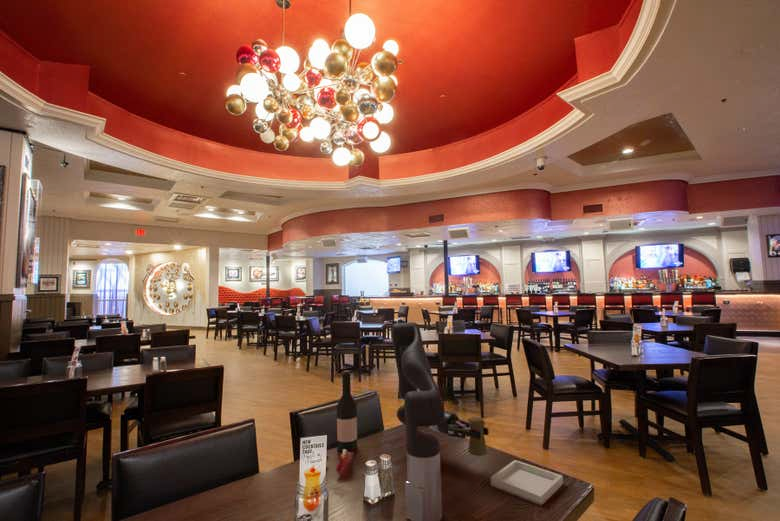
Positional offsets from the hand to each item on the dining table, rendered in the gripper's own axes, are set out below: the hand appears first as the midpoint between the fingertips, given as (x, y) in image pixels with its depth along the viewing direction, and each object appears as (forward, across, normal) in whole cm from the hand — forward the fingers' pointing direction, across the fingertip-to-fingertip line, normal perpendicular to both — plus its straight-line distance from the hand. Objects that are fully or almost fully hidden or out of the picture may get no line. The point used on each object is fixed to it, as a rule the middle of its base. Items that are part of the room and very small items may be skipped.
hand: (484, 433), depth 122 cm
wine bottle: (-51, -18, +14) cm, 56 cm away
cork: (-3, 0, +7) cm, 7 cm away
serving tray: (+12, +4, +14) cm, 19 cm away
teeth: (-40, -33, +14) cm, 54 cm away
